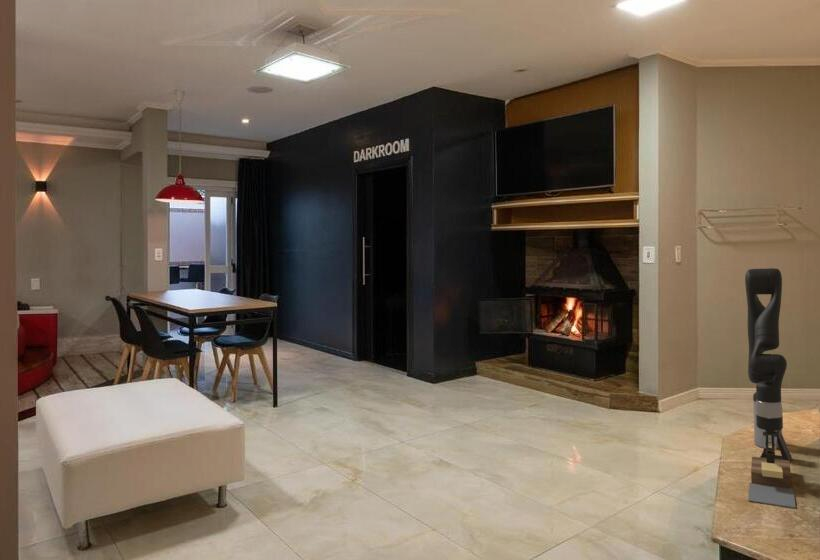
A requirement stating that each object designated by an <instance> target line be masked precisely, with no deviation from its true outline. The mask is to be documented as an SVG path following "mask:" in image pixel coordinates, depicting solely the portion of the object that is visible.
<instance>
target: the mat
mask: <svg viewBox="0 0 820 560" xmlns="http://www.w3.org/2000/svg"><path fill="white" fill-rule="evenodd" d="M748 485H749V486H748V488H749V489H748V502H749V501H754V502H753V503H755V502H759V503H758V504H761V503H764V504H763V505H768V504H769V506H775V507H776V506H777V507H783V508H788V509H796V507H797V506H796V499H795V493H794V492H795V491H794V488H792V489H791V488H783V487H776V486H768V485H761V484H754V483H751V482H749V484H748Z"/></svg>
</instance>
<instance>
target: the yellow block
mask: <svg viewBox="0 0 820 560" xmlns="http://www.w3.org/2000/svg"><path fill="white" fill-rule="evenodd" d="M761 465H762V476H766V477H774V478H783V471H782V466H781V464H774V463H764V462H761Z"/></svg>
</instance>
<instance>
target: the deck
mask: <svg viewBox="0 0 820 560" xmlns="http://www.w3.org/2000/svg"><path fill="white" fill-rule="evenodd" d="M760 457H761V456H760ZM760 457H759V456H751V466H750V467H751V470H750V472H751V475H750V476H751V480H750V481H751V482H750V483H754V484H761V485H768V486H776V487H783V488H791V489H793V488H792V471H791V464H790V462H791V461H790V462H789V461H787V460H778V459H774V463H775V464H781V466H782V471H783V478H774V477H766V476H762V465H761V462H764V463H767V458H760Z"/></svg>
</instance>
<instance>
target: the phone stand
mask: <svg viewBox="0 0 820 560" xmlns="http://www.w3.org/2000/svg"><path fill="white" fill-rule="evenodd" d="M774 433H777V443H778V446H779V448H778V449H779V451H780V454H781V455H780V454H779V455H777V454H775V456H774V459H778V460H787V461H789V462H791V460H792V459H793V457H792V455H791V452H790V450H789V448H788V445H787V443H786V440H785V438H784V436H783V432H782V433H781V430H779V431H777V432H776V431H774ZM765 450H766V448H763V451H762V452H761V455H760V458H767V456H766V453H765V452H766V451H765Z"/></svg>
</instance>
